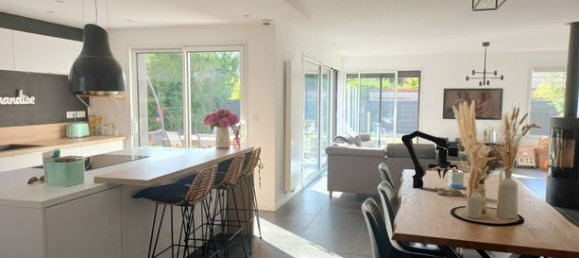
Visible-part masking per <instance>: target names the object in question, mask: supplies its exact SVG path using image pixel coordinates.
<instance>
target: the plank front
mask: <svg viewBox="0 0 579 258" xmlns="http://www.w3.org/2000/svg"><path fill="white" fill-rule="evenodd" d="M436 193H437V194H438V195H441V196H449V197H450V196H451V197H454V195H453V193H452V192H451V191H439V190H437V191H436Z"/></svg>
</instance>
